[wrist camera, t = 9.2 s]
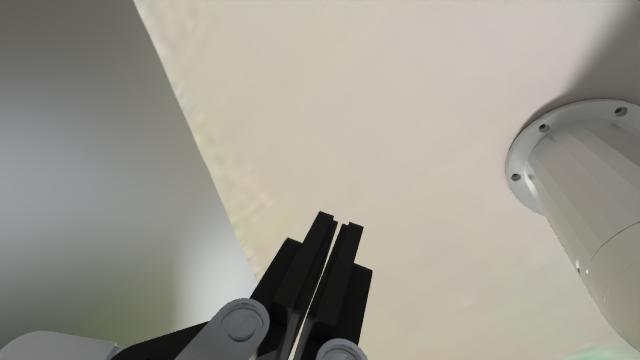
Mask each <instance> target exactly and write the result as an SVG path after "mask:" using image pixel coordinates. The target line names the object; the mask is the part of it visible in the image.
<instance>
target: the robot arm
mask: <svg viewBox="0 0 640 360" xmlns="http://www.w3.org/2000/svg"><path fill="white" fill-rule="evenodd" d="M617 108H619V110H617V111H616V112H615V110H616V109H617ZM542 124H544V126H543V127H541V128H539V126H540V125H542ZM505 174H506V179H507V183H508V185H509V187H510V190H511V191H512V193H513V194H514V196H515V197H516V199H517V200H518V201H520V202H521V203H522V204H523V205H524V206H525V207H527V208H529V209H530V210H532V211H533V212H536V213H538V214H541V215H543V216H545V217H546V219H547V221H548V222H549V224H550V226H551V227H552V229H553V231H554V233H555V234H556V236H557V238H558V240H559V241H560V243H561V245H562V247H563V248H564V250H565V252H566V254H567V255H568V257H569V259H570V260H571V262H572V264H573V266H574V267H575V269H576V271H577V273H578V274H579V276H580V278H581V280H582V281H583V283H584V285H585V287H586V288H587V290H588V292H589V293H590V295H591V297H592V298H593V300H594V301H595V303H596V305H597V306H598V308H599V310H600V312H601V313H602V315H603V316H604V317H605V319H606V320H607V322H608V323H609V324H610V326H611V327H612V328H613V329H614V330H615V331H616V332H617V334H618V335H619V336H621V337H622V338H623V339H624V340H625V341H626V342H627V343H628V344H629V345H631V346H632V347H633V348H635V349H636V350H637V351H639V352H640V106H638V105H635V104H632V103H629V102H626V101H621V100H614V99H590V100H584V101H578V102H574V103H571V104H567V105H564V106H561V107H558V108H556V109H554V110H552V111H550V112H548V113H546V114H544V115H542V116H541V117H539V118H538V119H536V120H535V121H533V122H532V123H531V124H530V125H529V126H528V127H526V128H525V129H524V130H523V131H522V132H521V133H520V135H519V136H518V137H517V138H516V140H515V141H514V142H513V144H512V146H511V148H510V150H509V152H508V155H507V159H506V162H505ZM513 174H516V175H513ZM333 218H334V216H332V215H330V214H327V213H324V212H321V211H320V212H319V213H318V215H317V217H316V219H315V221H314V222H313V224H312V226H311V228H310V230H309V232H308V234H307V236H306V237H305V239H304V241H303V243H301V242H298V241H296V240H293V239H291V238H287V239H286V240H285V241H284V243H283V245H282V246H281V248H280V250H279V251H278V253H277V254H276V256H275V258H274V259H273V261H272V262H271V264H270V266H269V267H268V269H267V271H266V272H265V274H264V275H263V277H262V279H261V280H260V282H259V284H258V285H257V287H256V288H255V290H254V292H253V293H252V295H251V297H250V298H249V299H247V298H241V299H236V300H233V301H231V302H229V303H227V304H226V305H225V306H223V307H222V308H221V309H220V310H219V312H218V313H217V314H216V315H215V316H214V317H213V318H212V319H211V320H210V321H207V322H204V323H201V324H198V325H195V326H192V327H189V328H185V329H182V330H179V331H176V332H173V333H170V334H167V335H163V336H160V337H157V338H154V339H151V340H148V341H144V342H141V343H138V344H135V345H132V346H130V347H128V348H126V347H120V346H117V344H116V343H115V342H109V341H103V340H97V339H92V338H86V337H79V336H74V335H68V334H62V333H56V332H50V331H35V332H32V333H28V334H25V335H22V336H20V337H19V338H17V339H15V340H13V341H11V342H10V343H9V344H7V345H6V346H5V347H4V348H3V349H1V350H0V360H288V358H289V356H290V353H291V351H292V348H293V346H294V343H295V341H296V338H297V336H298V333H299V331H300V328H301V325H302V323H303V320H304V318H305V315H306V313H307V310H308V308H309V305H310V303H311V300H312V298H313V295H314V293H315V295H314V298H313V300H312V303H311V305H310V308H309V311H308V313H307V316H306V319H305V322H304V326H303V329H302V332H301V335H300V339H299V342H298V345H297V348H296V352H295V355H294V358H293V360H368V359H367V357H366V355H365V354H364V353H363V351H362V350H361V348H359V347H358V343H359V338H360V333H361V328H362V323H363V318H364V313H365V308H366V303H367V298H368V293H369V288H370V283H371V278H372V270H371V269H368V268H366V267H363V266H360V265H358V264H355V263H354V260H355V256H356V253H357V249H358V246H359V242H360V239H361V235H362V232H363V228H364V227H362V226H360V225H357V224H354V223H352V222H349V224H348V225H345V224H342V226H341V229H340V231H339V234H338V236H337V239H336V241H335V244H334V246H333V249H332V252H331V254H330V257H329V259H328V262H327V264H326V267H325V269H324V265H325V262H326V259H327V256H328V253H329V250H330V246H331V243H332V240H333V237H334V234H335V230H336V227H337V224H338V222H337V221H334V220H333ZM323 269H324V272H323ZM322 272H323V275H322ZM321 275H322V277H321ZM320 277H321V280H320ZM319 280H320V282H319ZM318 282H319V285H318ZM317 285H318V287H317ZM316 287H317V290H316ZM315 290H316V292H315Z"/></svg>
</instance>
